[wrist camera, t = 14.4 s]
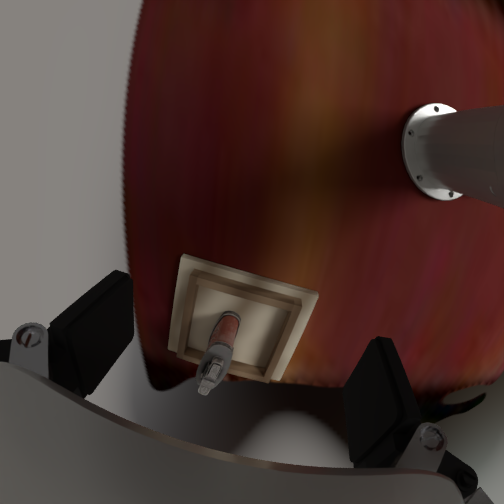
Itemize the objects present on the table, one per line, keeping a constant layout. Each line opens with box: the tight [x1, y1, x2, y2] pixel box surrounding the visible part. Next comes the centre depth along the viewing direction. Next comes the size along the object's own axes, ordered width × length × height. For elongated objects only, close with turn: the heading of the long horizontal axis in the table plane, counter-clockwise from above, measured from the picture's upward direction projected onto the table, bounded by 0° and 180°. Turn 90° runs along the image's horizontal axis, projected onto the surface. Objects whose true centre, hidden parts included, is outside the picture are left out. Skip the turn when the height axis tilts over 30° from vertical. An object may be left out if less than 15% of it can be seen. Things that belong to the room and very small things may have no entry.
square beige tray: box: [168, 254, 319, 383], centre depth 37 cm, size 18×16×3 cm
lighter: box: [196, 310, 241, 395], centre depth 33 cm, size 8×3×10 cm, turn 157°
